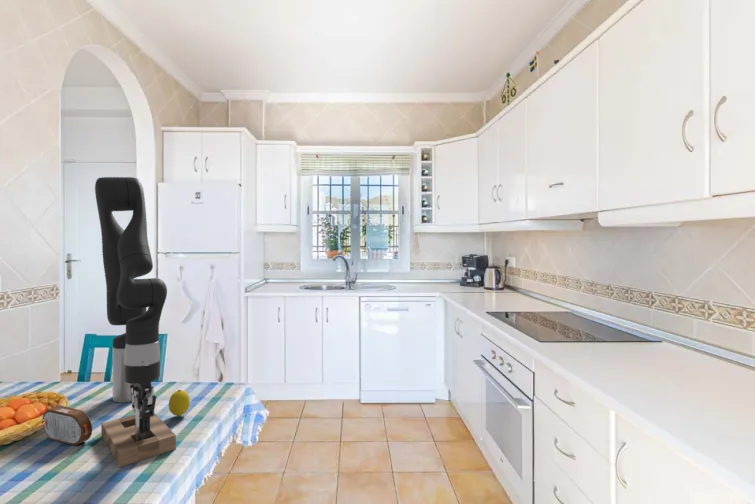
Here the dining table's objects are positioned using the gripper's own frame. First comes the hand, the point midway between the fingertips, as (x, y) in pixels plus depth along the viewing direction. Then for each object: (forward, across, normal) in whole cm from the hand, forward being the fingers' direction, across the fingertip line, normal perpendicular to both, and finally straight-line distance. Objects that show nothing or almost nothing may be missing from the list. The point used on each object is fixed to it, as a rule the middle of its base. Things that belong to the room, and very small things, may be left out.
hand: (142, 429), depth 100 cm
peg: (+3, 0, 0) cm, 3 cm away
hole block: (+5, -5, 0) cm, 7 cm away
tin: (+5, -18, -13) cm, 23 cm away
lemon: (+5, -14, +13) cm, 20 cm away
